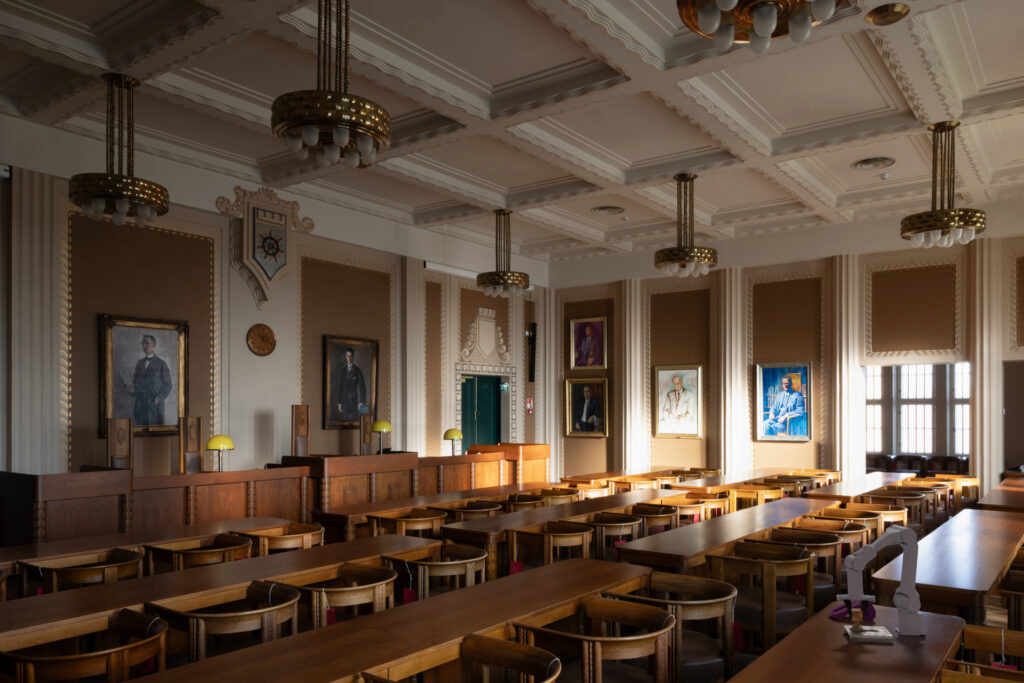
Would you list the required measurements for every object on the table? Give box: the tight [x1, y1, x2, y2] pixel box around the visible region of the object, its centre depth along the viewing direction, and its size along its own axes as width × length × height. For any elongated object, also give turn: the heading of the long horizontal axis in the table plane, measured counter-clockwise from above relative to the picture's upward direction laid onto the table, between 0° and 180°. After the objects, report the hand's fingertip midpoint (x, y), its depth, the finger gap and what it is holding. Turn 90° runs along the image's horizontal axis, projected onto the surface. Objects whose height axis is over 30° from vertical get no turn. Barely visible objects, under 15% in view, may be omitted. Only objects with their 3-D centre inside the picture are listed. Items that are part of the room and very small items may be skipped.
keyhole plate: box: [843, 624, 894, 644], centre depth 321 cm, size 16×12×3 cm
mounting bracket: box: [828, 593, 877, 622], centre depth 349 cm, size 9×8×18 cm
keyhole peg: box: [850, 608, 864, 630], centre depth 323 cm, size 4×4×8 cm
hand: (856, 618), depth 322 cm, fingers closed on keyhole peg, 4 cm apart
